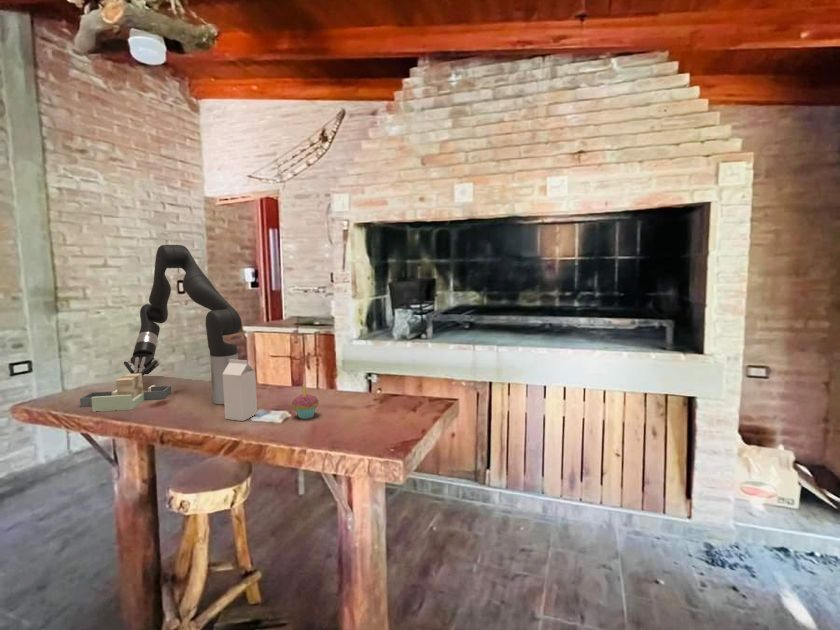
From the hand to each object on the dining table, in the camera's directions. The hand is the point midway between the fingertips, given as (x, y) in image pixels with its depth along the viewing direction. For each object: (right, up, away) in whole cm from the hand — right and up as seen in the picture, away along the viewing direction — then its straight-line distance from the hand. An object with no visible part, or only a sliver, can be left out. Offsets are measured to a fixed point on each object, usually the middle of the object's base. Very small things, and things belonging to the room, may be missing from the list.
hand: (136, 382), depth 191 cm
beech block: (+1, -5, -5) cm, 7 cm away
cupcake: (+72, -7, -29) cm, 78 cm away
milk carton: (+51, -7, -29) cm, 59 cm away
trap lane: (+1, -5, -9) cm, 10 cm away
